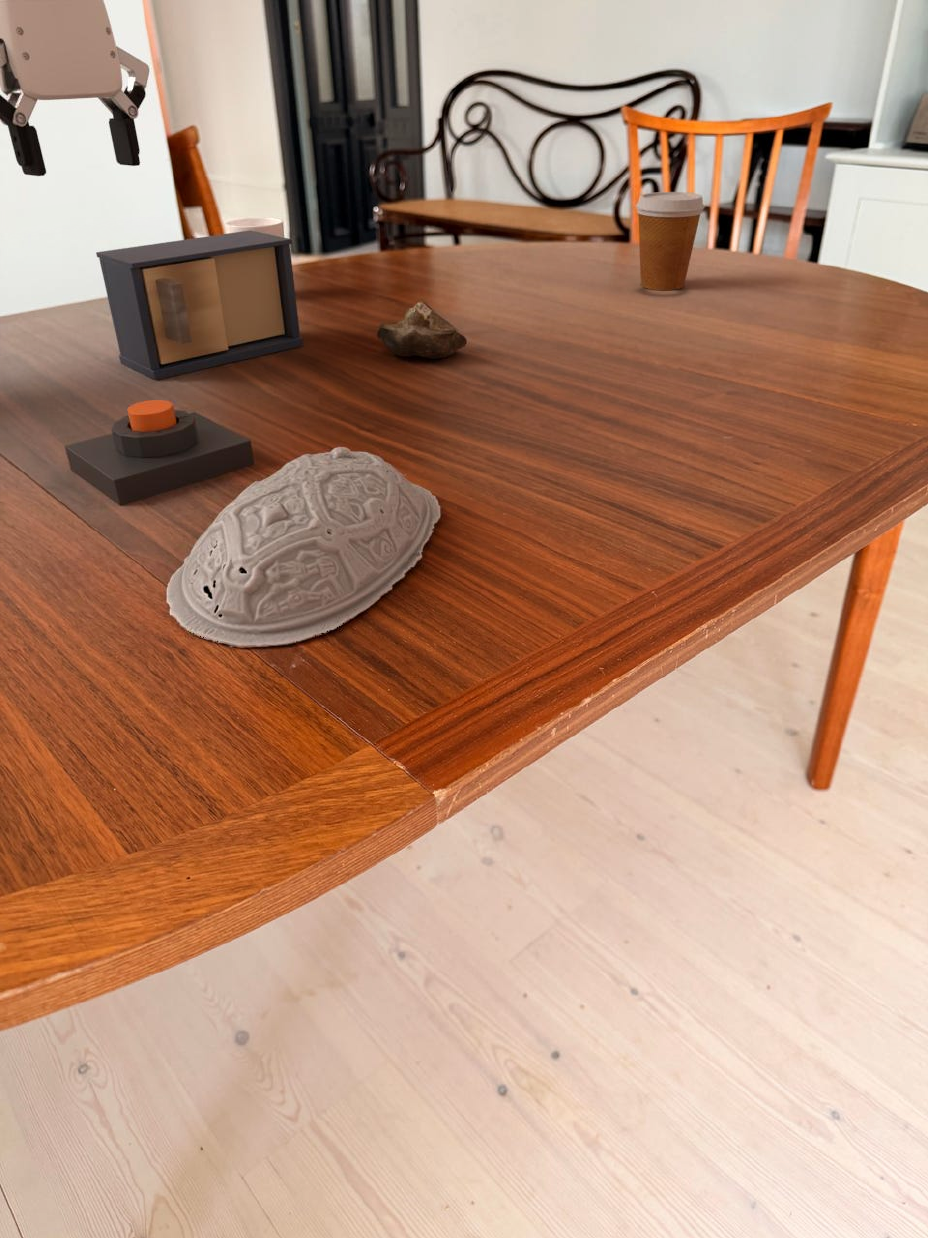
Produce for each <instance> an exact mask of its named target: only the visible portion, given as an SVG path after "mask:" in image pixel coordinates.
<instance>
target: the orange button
mask: <svg viewBox="0 0 928 1238" xmlns="http://www.w3.org/2000/svg"><path fill="white" fill-rule="evenodd" d="M174 410H175V409H174V404H173V403H172V402H171V401H168V400H164V399H153V400H152V399H149V400H143V401H139V402H136V403H134V404H133V403H132V404H131V405H130V406H129V407H128V408H127V416H128V415H129V419H130V424H131V428H132V430H133V431H140V432H148V431H159V430H163V429H166V428H170V427H173V426H174V425H176V424H177V423H176V418H175V413H174Z"/></svg>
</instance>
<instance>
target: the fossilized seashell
mask: <svg viewBox="0 0 928 1238" xmlns="http://www.w3.org/2000/svg"><path fill="white" fill-rule="evenodd" d="M378 327H379V328H378V330H377V333H376V337H377V338H378V339H379V340H381V341H382V343H383V345H384V346H385V347H386V349H387V351H388V350H389V351H390V352H391V353H393V354H394V355H395V356H400V357H407V358H408V357H413V356H418V357H422V358H425V359H426V358H427V359H429V360H430V359H433V360H438V359H439V360H440V359H441V358H447V357H450V356H452V355H454V353H457V352H458V351H459V350H461V349H463V348H464V347H466V345H467V344H468V340H467V338H466V337H465V336H464V334H462V333H461V331H460V330H458V329H457V328H456V327H455V326H454V324H453V325H452V323H450V322H449V321H448V320H446V318H444V317H443V316H441V315H440V314H438V313H436V312H435V310H434V309H433V308H432V307H431V306H430V305H429V304H428V303H427V302H426V301H423V300H422V301H418V302H417V303H416V304H415V305H413V307H409V308H408V309H406V311H405V316H404V318H403V319H401V320H400V321H397V322H396V323H394V324H393V323H392V324H390V323H383V322H380V323H379V324H378Z"/></svg>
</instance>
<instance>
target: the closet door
mask: <svg viewBox="0 0 928 1238" xmlns="http://www.w3.org/2000/svg"><path fill="white" fill-rule="evenodd" d="M140 271H141V276H142V281H143V286H144V291H145V296H146V301H147V306H148V311H149V316H150V321H151V326H152V331H153V337H154V342H155V347H156V352H157V357H158V362H159V364H167V363H171V362H176V361H180V360H185V359H189V358H194V357H198V356H203V355H207V354H212V353H216V352H221V351H225V350H228V343H227V337H226V331H225V324H224V318H223V311H222V305H221V299H220V292H219V286H218V279H217V273H216V266H215V260H214V258H212V257H208V258H202V259H195V260H189V261H183V262H176V263H170V264H164V265H157V266H151V267H145V268H140Z"/></svg>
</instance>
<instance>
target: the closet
mask: <svg viewBox="0 0 928 1238" xmlns="http://www.w3.org/2000/svg"><path fill="white" fill-rule="evenodd" d="M292 244H293V242H292V238H288V237H284V238H283V237H279V236H274V235H270V234H265V233H261V232H256V231H251V230H249V231H242V232H235V233H228V234H227V233H222V234H215V235H208V236H200V237H193V238H185V239H181V240H173V241H166V242H159V243H152V244H145V245H138V246H129V247H123V248H117V249H110V250H103V251H97V252H96V253H95V254H96V258H98V260H99V265H100V269H101V273H102V278H103V281H104V288H105V292H106V295H107V300H108V305H109V309H110V314H111V318H112V319H111V320H112V323H113V328H114V332H115V336H116V340H117V345H118V351H119V354H118V357H119V363H120V364H122V365H123V366H125V367H127V368H129V369H131V370H134V371H136V372H138V373H139V374H142V375H144V376H146V377H148V378H149V379H152V380H154V381H158V380H162V379H167V378H171V377H175V376H179V375H183V374H184V375H185V374H188V373H193V372H197V371H202V370H205V369H210V368H214V367H218V366H224V365H226V364H231V363H235V362H241V361H244V360H249V359H253V358H257V357H262V356H265V355H271V354H275V353H279V352H283V351H287V350H293V349H295V348H300V347H303V346H304V341H303V337H301V332H300V323H299V315H298V306H297V298H296V297H297V296H296V288H295V281H294V271H293V270H294V269H293V262H292V252H291V245H292ZM208 257H212V258H214V260H215V266H216V273H217V279H218V286H219V292H220V299H221V305H222V311H223V318H224V324H225V331H226V337H227V343H228V350H225V351H221V352H216V353H212V354H207V355H203V356H198V357H194V358H189V359H185V360H180V361H176V362H171V363H167V364H159V362H158V357H157V352H156V347H155V342H154V337H153V331H152V326H151V321H150V316H149V311H148V306H147V301H146V296H145V291H144V286H143V281H142V276H141V271H140V268H145V267H151V266H157V265H164V264H170V263H176V262H183V261H189V260H195V259H202V258H208Z"/></svg>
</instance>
